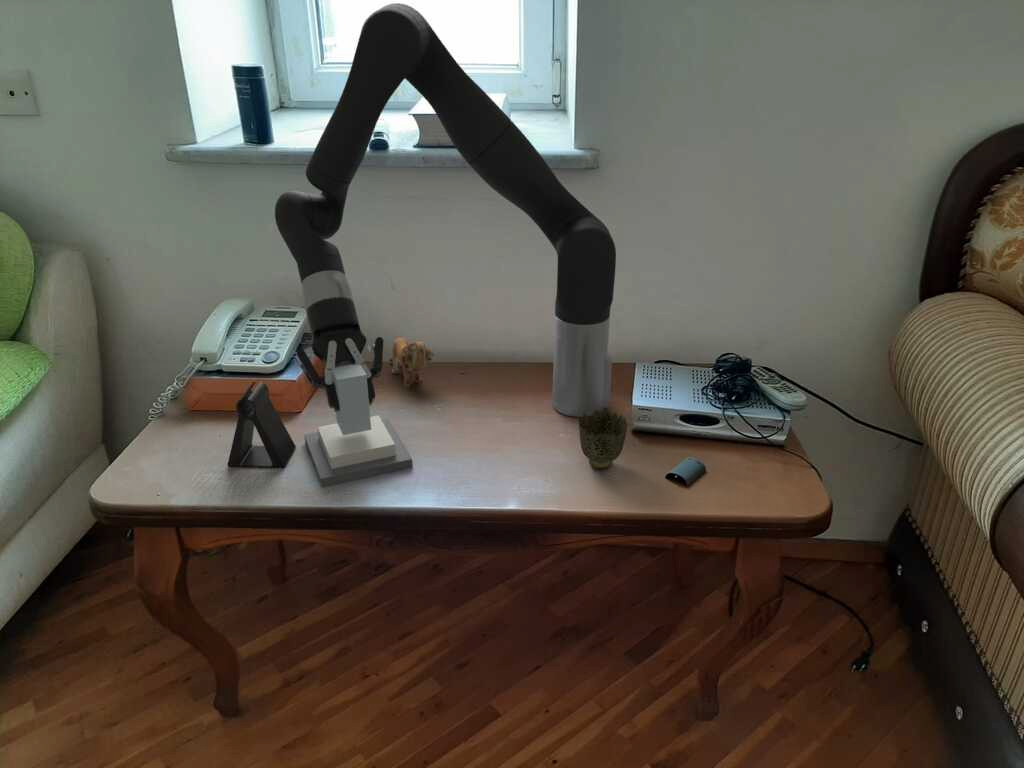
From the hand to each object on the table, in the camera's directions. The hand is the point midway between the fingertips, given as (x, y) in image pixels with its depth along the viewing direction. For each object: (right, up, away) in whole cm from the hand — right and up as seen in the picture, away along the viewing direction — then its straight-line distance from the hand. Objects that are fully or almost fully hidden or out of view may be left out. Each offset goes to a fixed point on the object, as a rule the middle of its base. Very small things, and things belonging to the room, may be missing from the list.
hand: (353, 406), depth 119 cm
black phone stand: (-15, -8, +5) cm, 18 cm away
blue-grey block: (-1, -3, +3) cm, 4 cm away
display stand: (0, -8, +5) cm, 9 cm away
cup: (+38, -9, +3) cm, 39 cm away
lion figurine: (+5, +5, +31) cm, 31 cm away
